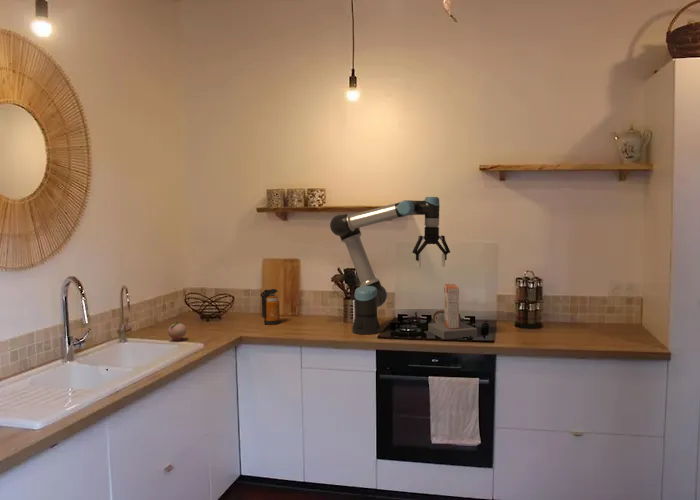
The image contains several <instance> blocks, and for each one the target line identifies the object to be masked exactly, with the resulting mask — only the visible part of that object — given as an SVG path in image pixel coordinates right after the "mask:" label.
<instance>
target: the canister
mask: <svg viewBox="0 0 700 500" xmlns="http://www.w3.org/2000/svg"><path fill="white" fill-rule="evenodd" d="M278 291H279V290H277V289H276V288H271V289H264V291H262V292H261V293H260V297H261V318H263V323H264V324H265V325H268V324H274V325H277V323H278V324H279V323H281V318H280V317H281V316H280V311H281V309H280V300H279V296H278V295H277V293H278Z"/></svg>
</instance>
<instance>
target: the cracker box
mask: <svg viewBox="0 0 700 500" xmlns="http://www.w3.org/2000/svg"><path fill="white" fill-rule="evenodd" d="M443 291H444V293H443V295H444V300H443V301H444V310H445V324H446V326H447V328H448V329H459V314H460V305H459V304H460V303H459V300H460V298H459V297H460V295H459V291H460V290H459V287H458V286H457V285H456V284H454V283H451V284H450V283H445V284H443Z"/></svg>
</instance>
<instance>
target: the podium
mask: <svg viewBox="0 0 700 500" xmlns="http://www.w3.org/2000/svg"><path fill="white" fill-rule="evenodd" d="M427 329H428V332H429V333H431V334H433V335H434V336H436V337H439V338H440V339H442V340H453V339H454V340H455V339H464V338H463V337H468V338H477V337H478V328H476V327H474V326H472V325H470V324H467V323H465V322H462V321H461V320H460V321H459V329H448V328H447V326H446V324H445V322H444V323H435V322H434V323H428V328H427ZM470 336H471V337H470Z"/></svg>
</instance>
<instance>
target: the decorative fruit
mask: <svg viewBox="0 0 700 500" xmlns="http://www.w3.org/2000/svg"><path fill="white" fill-rule="evenodd" d="M175 322H176V323H172V324H171V325H170V326H169V327H168V329H167V333H168V336H169V337H170V338H171V339H172V340H174V341H176V340H178V341H180V340H181V339H182V338H184V337H185V336H186V334H187V327H186V326H185V325H184V324H183V323H182V322H178V321H175Z"/></svg>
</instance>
